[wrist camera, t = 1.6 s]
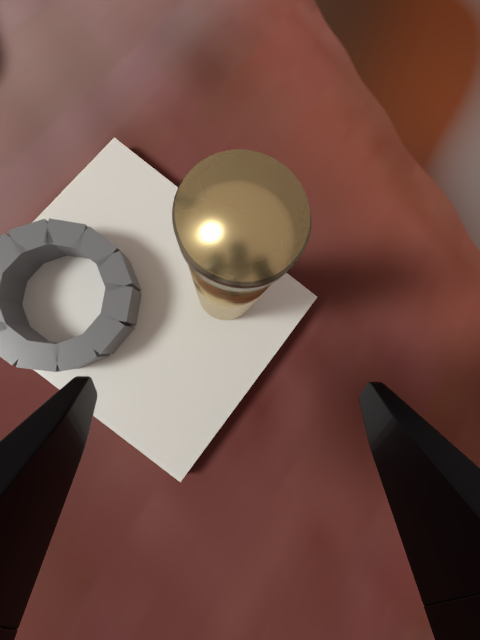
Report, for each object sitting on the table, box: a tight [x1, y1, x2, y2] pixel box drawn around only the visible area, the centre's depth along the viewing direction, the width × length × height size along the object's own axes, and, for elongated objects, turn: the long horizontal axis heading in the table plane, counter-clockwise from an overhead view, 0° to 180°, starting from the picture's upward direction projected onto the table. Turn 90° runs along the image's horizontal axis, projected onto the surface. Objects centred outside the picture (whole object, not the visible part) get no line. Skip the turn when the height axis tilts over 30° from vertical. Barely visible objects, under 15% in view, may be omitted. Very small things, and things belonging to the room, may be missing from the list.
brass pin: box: [172, 150, 311, 320], centre depth 14 cm, size 4×4×12 cm
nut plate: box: [0, 138, 317, 482], centre depth 19 cm, size 19×16×3 cm
